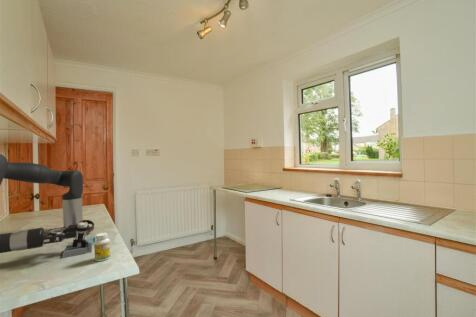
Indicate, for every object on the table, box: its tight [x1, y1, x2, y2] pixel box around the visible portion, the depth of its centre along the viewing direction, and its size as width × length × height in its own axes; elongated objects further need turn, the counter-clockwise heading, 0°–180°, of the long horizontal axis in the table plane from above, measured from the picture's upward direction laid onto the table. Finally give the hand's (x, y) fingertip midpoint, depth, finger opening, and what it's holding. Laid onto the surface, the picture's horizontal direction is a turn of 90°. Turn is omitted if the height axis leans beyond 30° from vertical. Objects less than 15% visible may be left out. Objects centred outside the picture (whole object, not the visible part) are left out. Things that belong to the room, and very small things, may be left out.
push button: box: [67, 222, 90, 247], centre depth 104 cm, size 7×5×10 cm
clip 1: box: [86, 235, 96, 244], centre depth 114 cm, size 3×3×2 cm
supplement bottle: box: [93, 232, 111, 262], centre depth 94 cm, size 5×5×10 cm
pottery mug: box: [67, 219, 95, 237], centre depth 126 cm, size 12×10×8 cm
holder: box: [61, 236, 93, 259], centre depth 103 cm, size 9×10×4 cm
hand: (77, 231), depth 103 cm, fingers open, 8 cm apart
